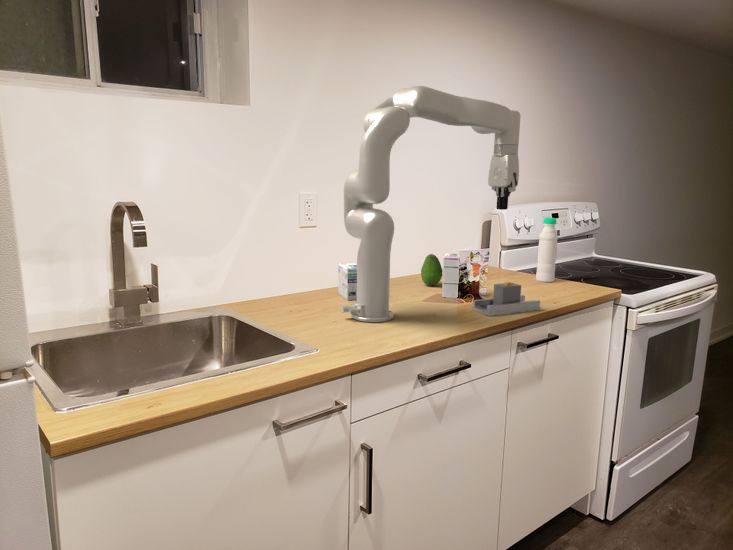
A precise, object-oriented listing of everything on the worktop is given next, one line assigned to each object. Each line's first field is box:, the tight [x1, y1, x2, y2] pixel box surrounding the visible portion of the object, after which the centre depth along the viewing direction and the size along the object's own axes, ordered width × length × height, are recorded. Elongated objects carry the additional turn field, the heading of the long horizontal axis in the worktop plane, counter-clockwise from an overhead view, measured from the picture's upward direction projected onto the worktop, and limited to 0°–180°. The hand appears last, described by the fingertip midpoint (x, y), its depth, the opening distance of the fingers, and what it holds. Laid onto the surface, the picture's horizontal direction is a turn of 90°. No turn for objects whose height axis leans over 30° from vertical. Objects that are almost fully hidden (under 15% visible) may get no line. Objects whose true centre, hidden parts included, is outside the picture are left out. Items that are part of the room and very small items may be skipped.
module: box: [492, 281, 522, 305], centre depth 175 cm, size 7×4×8 cm, turn 116°
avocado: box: [420, 253, 443, 287], centre depth 208 cm, size 8×8×12 cm
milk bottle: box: [535, 217, 559, 283], centre depth 219 cm, size 7×7×25 cm
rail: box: [471, 294, 542, 317], centre depth 175 cm, size 20×9×3 cm, turn 116°
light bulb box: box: [337, 262, 357, 301], centre depth 188 cm, size 11×7×11 cm, turn 20°
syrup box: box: [441, 253, 461, 299], centre depth 191 cm, size 6×6×14 cm
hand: (501, 209), depth 180 cm, fingers closed
